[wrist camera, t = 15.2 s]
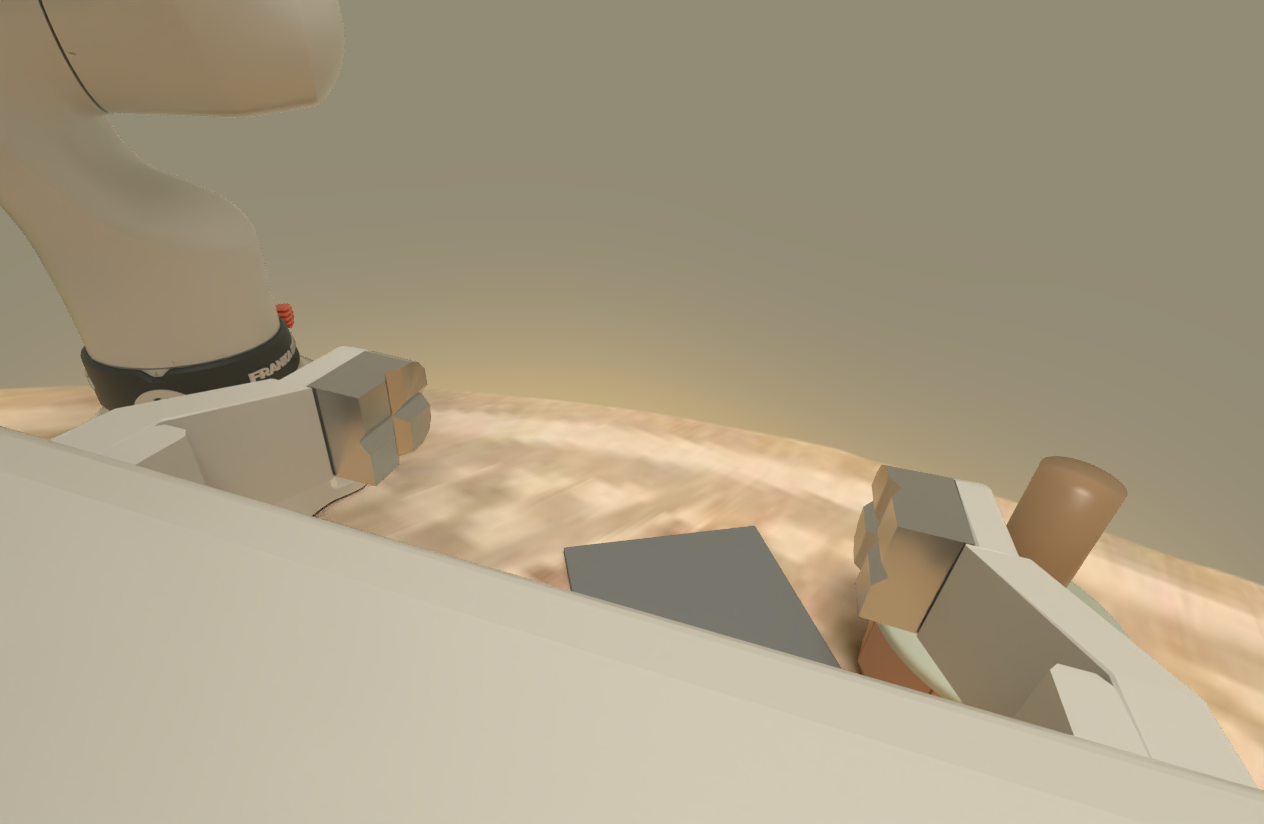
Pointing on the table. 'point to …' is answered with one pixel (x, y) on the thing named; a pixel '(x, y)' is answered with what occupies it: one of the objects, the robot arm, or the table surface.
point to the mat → (703, 586)
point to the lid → (1041, 543)
